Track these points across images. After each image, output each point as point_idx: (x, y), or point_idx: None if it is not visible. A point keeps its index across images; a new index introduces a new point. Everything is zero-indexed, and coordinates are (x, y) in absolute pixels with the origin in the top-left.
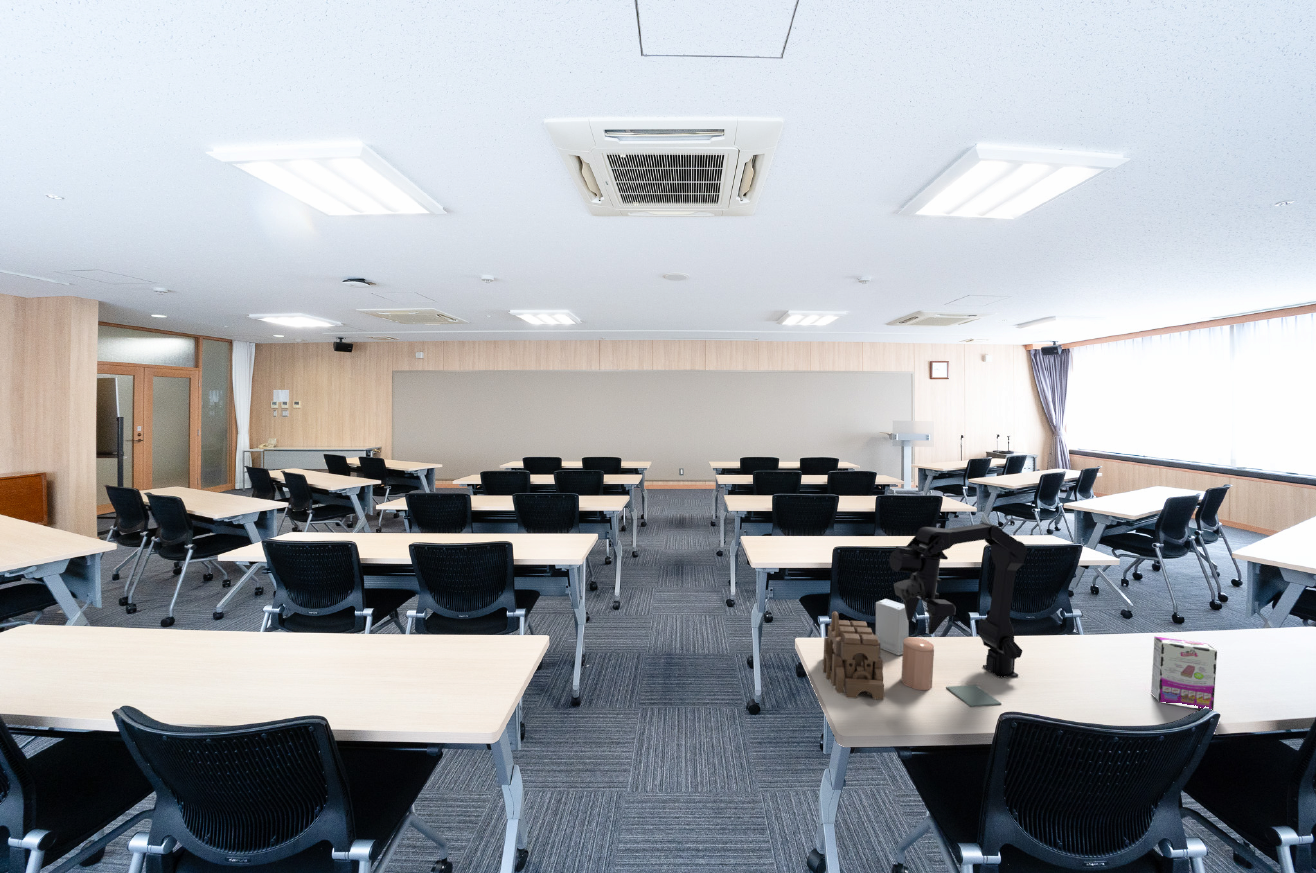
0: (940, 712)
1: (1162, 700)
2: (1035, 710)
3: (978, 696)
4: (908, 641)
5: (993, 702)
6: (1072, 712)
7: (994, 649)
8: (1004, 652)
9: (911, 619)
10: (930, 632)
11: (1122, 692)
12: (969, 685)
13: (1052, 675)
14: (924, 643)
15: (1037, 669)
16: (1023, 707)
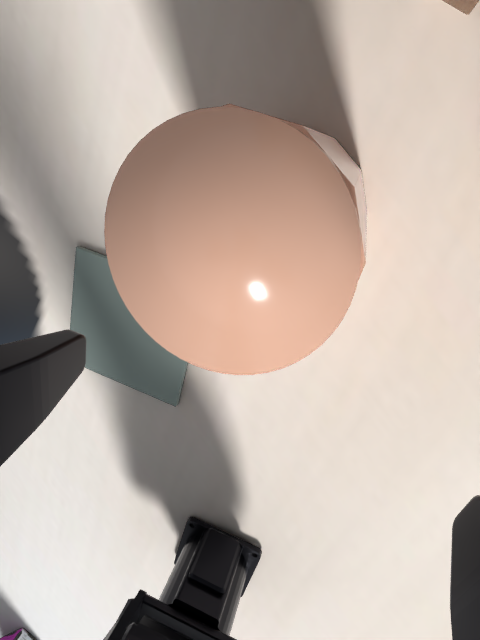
0: (70, 74)
1: (16, 634)
2: None
3: (115, 335)
4: (289, 195)
5: None
6: (14, 471)
7: (193, 625)
8: (129, 608)
9: (455, 534)
10: (49, 339)
11: (62, 628)
12: (179, 384)
13: None
14: (200, 304)
15: None
16: None
